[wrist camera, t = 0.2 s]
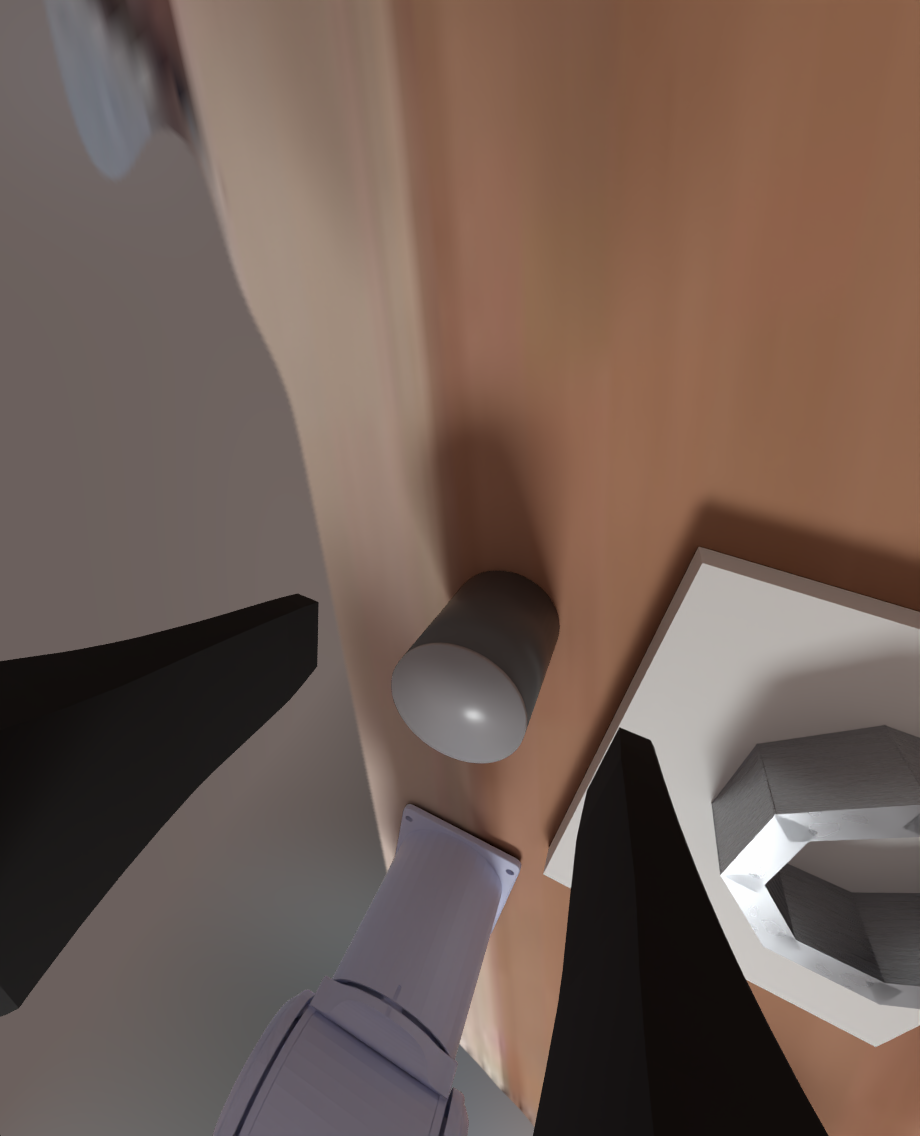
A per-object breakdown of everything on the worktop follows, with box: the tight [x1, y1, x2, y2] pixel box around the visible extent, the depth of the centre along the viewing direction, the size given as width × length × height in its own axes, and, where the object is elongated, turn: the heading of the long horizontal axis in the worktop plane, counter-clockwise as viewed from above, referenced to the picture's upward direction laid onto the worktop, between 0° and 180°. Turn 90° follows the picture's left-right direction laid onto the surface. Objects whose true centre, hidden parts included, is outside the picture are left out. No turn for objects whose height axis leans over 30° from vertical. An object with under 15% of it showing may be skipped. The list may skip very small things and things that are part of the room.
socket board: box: [543, 547, 920, 1047], centre depth 17 cm, size 20×16×4 cm
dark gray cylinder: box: [391, 571, 560, 763], centre depth 18 cm, size 5×5×6 cm
